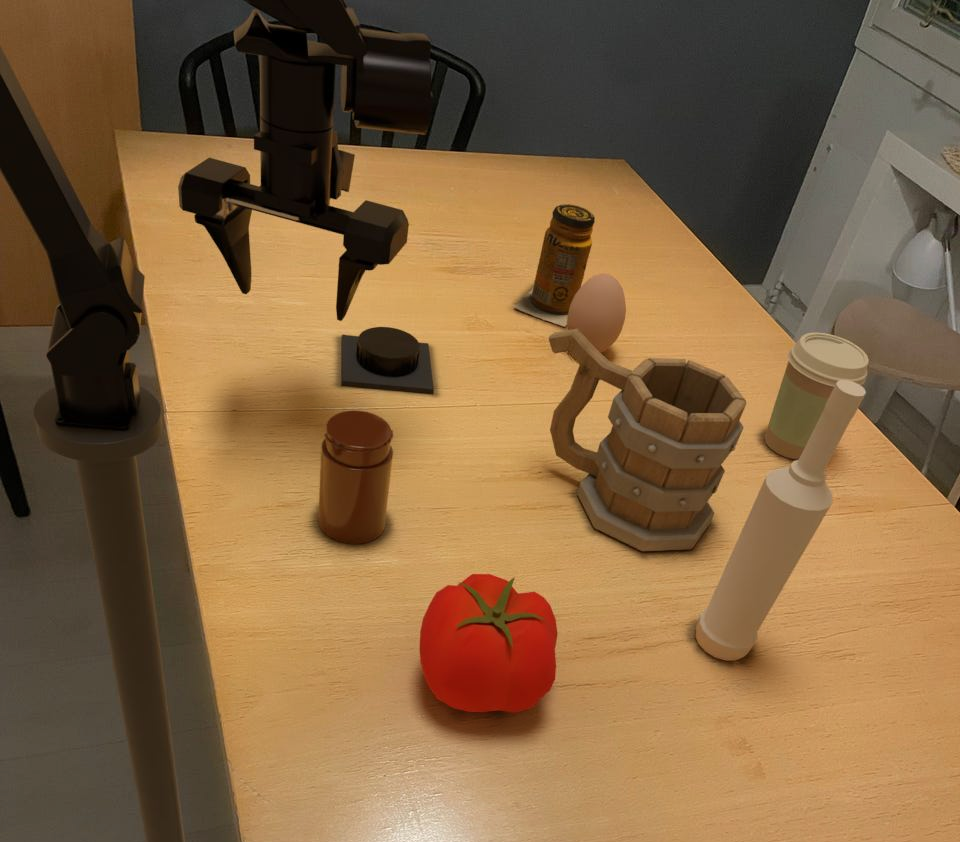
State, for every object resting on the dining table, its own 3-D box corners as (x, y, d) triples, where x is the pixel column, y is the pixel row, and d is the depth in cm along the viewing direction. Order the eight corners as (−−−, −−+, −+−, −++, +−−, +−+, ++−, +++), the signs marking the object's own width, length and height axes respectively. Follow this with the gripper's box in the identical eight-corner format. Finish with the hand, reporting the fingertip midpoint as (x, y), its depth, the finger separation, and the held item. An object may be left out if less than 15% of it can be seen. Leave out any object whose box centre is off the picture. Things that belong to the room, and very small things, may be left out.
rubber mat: (341, 385, 97) (341, 380, 97) (341, 339, 104) (341, 334, 104) (433, 394, 99) (434, 389, 99) (427, 347, 106) (428, 343, 106)
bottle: (682, 624, 80) (799, 369, 62) (730, 616, 82) (857, 366, 64) (711, 667, 77) (843, 411, 59) (761, 657, 78) (904, 406, 61)
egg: (586, 371, 108) (607, 293, 102) (548, 343, 112) (567, 266, 105) (624, 359, 112) (648, 283, 105) (587, 333, 115) (607, 258, 108)
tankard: (721, 507, 93) (779, 377, 83) (677, 570, 85) (735, 435, 74) (552, 429, 98) (586, 297, 88) (495, 481, 90) (525, 342, 79)
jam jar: (317, 542, 79) (321, 446, 72) (318, 499, 83) (323, 405, 76) (385, 546, 80) (396, 452, 73) (383, 504, 85) (394, 411, 77)
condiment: (585, 304, 121) (609, 212, 113) (564, 328, 115) (588, 233, 107) (535, 286, 122) (555, 194, 114) (512, 309, 116) (531, 214, 108)
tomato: (384, 675, 70) (395, 594, 64) (483, 617, 76) (502, 538, 70) (478, 764, 66) (500, 686, 59) (576, 695, 72) (604, 618, 66)
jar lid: (429, 363, 102) (432, 344, 101) (392, 384, 98) (394, 365, 96) (382, 338, 105) (384, 320, 103) (343, 358, 100) (344, 339, 98)
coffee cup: (824, 437, 107) (872, 343, 98) (824, 475, 101) (875, 379, 92) (754, 416, 108) (795, 321, 99) (750, 453, 102) (794, 356, 93)
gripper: (436, 122, 77) (415, 297, 88) (230, 67, 78) (235, 247, 89) (396, 161, 69) (379, 347, 80) (168, 100, 70) (182, 292, 82)
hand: (293, 305), depth 83 cm, fingers open, 9 cm apart
